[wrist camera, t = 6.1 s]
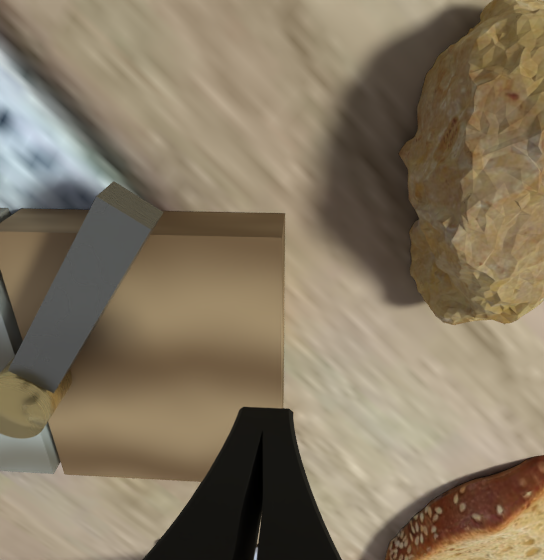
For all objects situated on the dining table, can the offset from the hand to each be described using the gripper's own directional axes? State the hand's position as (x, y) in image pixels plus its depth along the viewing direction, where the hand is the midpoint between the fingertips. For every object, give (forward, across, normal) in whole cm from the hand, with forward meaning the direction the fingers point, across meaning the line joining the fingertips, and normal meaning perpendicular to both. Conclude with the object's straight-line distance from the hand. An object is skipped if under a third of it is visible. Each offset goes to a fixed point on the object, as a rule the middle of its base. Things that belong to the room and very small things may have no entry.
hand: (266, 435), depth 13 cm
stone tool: (+10, -8, -4) cm, 14 cm away
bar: (+7, +8, +1) cm, 11 cm away
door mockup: (+10, +11, +4) cm, 15 cm away
